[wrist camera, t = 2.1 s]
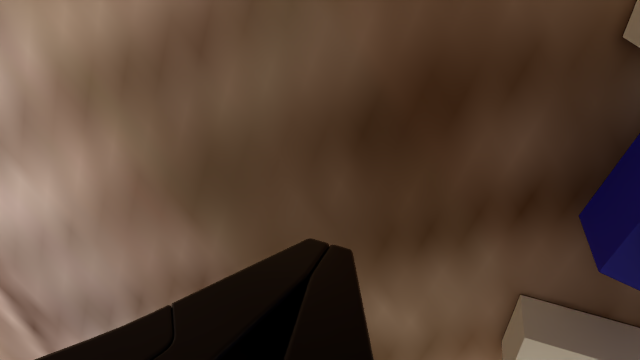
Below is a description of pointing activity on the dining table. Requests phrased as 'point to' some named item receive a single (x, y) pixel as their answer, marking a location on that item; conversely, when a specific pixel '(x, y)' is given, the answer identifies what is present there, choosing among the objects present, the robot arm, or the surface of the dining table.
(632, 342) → the guide channel
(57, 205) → the dining table surface
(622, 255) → the cable clip
